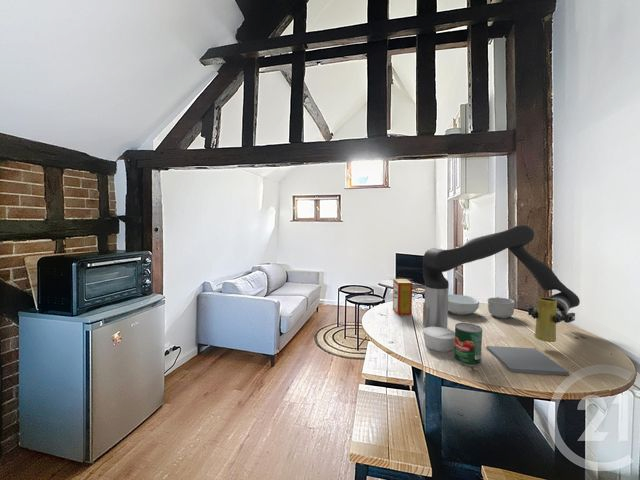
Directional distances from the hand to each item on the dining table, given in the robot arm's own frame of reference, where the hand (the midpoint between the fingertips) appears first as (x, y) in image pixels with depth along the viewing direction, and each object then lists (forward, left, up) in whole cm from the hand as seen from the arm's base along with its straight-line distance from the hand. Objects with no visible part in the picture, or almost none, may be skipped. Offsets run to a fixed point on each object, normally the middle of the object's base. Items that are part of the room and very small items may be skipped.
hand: (544, 318), depth 101 cm
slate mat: (-11, -9, -12) cm, 18 cm away
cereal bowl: (-14, +41, -12) cm, 45 cm away
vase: (+2, +2, -8) cm, 9 cm away
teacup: (+4, +39, -12) cm, 41 cm away
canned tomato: (-29, -11, -12) cm, 33 cm away
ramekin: (-35, -1, -12) cm, 37 cm away
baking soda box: (-42, +38, -12) cm, 58 cm away
